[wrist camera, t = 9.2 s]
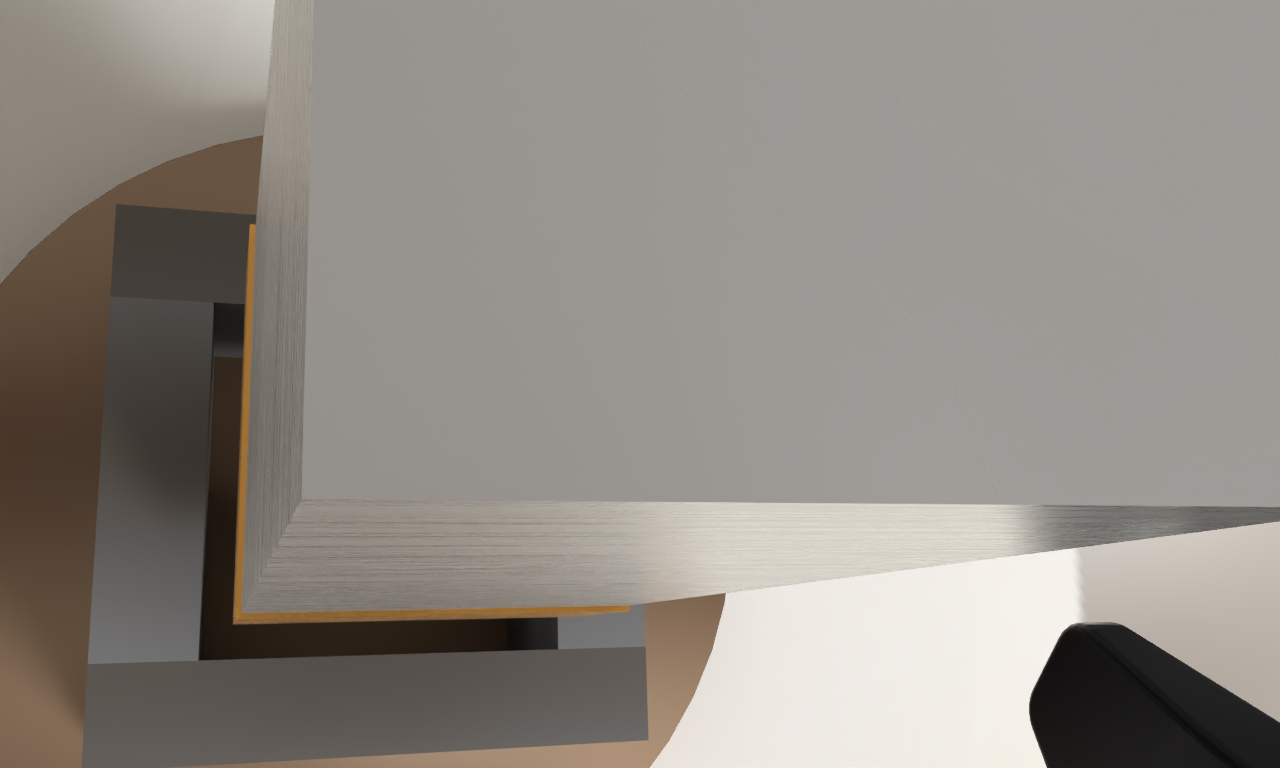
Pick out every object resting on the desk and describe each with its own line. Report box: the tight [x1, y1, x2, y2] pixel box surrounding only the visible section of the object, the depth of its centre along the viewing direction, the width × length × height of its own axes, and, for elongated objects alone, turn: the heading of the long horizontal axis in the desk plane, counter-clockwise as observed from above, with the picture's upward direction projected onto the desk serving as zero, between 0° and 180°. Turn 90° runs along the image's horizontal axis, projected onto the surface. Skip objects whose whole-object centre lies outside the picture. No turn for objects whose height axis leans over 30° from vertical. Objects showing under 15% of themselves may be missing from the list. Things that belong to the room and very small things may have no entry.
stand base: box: [0, 136, 726, 768], centre depth 18 cm, size 12×12×4 cm
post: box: [233, 0, 1280, 625], centre depth 9 cm, size 4×4×11 cm
